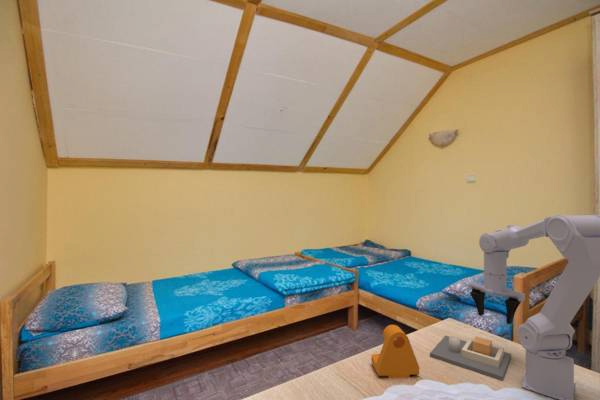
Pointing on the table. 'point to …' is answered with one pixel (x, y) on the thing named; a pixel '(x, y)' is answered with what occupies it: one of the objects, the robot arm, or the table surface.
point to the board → (472, 357)
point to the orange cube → (482, 346)
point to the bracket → (395, 355)
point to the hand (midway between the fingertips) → (494, 318)
